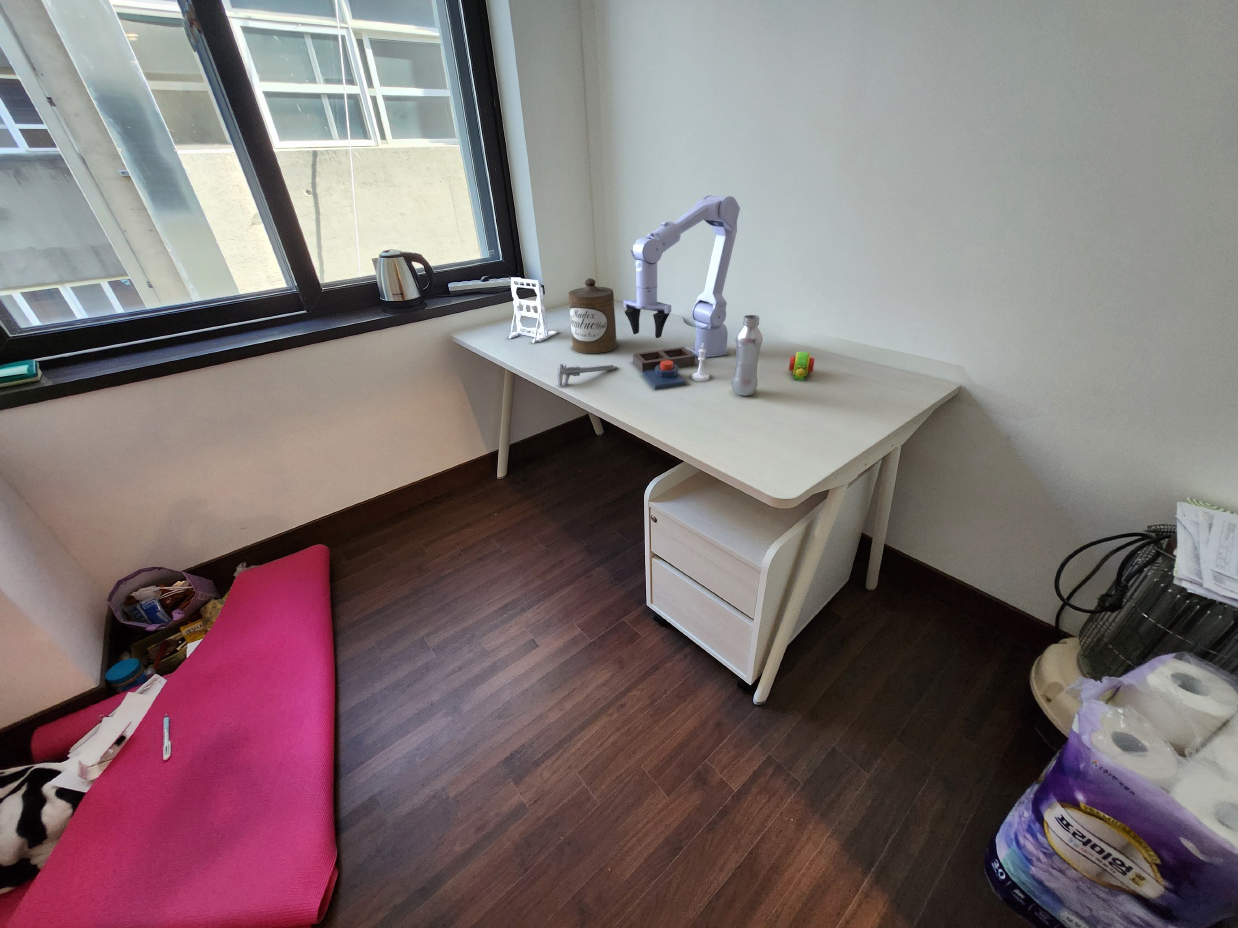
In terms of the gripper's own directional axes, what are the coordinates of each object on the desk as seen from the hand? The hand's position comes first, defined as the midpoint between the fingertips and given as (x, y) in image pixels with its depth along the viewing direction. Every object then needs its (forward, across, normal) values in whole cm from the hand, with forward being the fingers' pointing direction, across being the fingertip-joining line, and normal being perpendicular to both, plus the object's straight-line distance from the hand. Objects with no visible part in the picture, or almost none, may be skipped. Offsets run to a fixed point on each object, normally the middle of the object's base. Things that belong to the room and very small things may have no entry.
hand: (647, 335), depth 139 cm
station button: (+8, +8, -3) cm, 12 cm away
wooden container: (+10, -26, +9) cm, 30 cm away
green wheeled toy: (+10, +39, +21) cm, 46 cm away
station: (+10, +9, -5) cm, 14 cm away
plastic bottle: (+10, +32, -3) cm, 33 cm away
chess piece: (+10, +17, +2) cm, 20 cm away
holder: (+10, +2, +6) cm, 12 cm away
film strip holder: (+10, -54, +8) cm, 56 cm away
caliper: (+10, -12, -14) cm, 21 cm away
